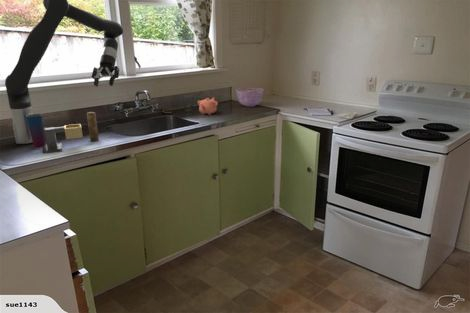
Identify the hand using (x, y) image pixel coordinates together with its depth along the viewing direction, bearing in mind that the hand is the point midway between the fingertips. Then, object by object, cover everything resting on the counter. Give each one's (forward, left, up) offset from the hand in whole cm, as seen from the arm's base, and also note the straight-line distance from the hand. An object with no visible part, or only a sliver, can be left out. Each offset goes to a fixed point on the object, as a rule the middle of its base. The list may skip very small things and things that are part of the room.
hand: (103, 85), depth 194 cm
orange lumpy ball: (+65, +25, -26) cm, 74 cm away
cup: (-33, -9, -26) cm, 43 cm away
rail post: (-8, -10, -26) cm, 29 cm away
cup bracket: (-22, -18, -26) cm, 38 cm away
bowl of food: (+101, +37, -26) cm, 111 cm away
